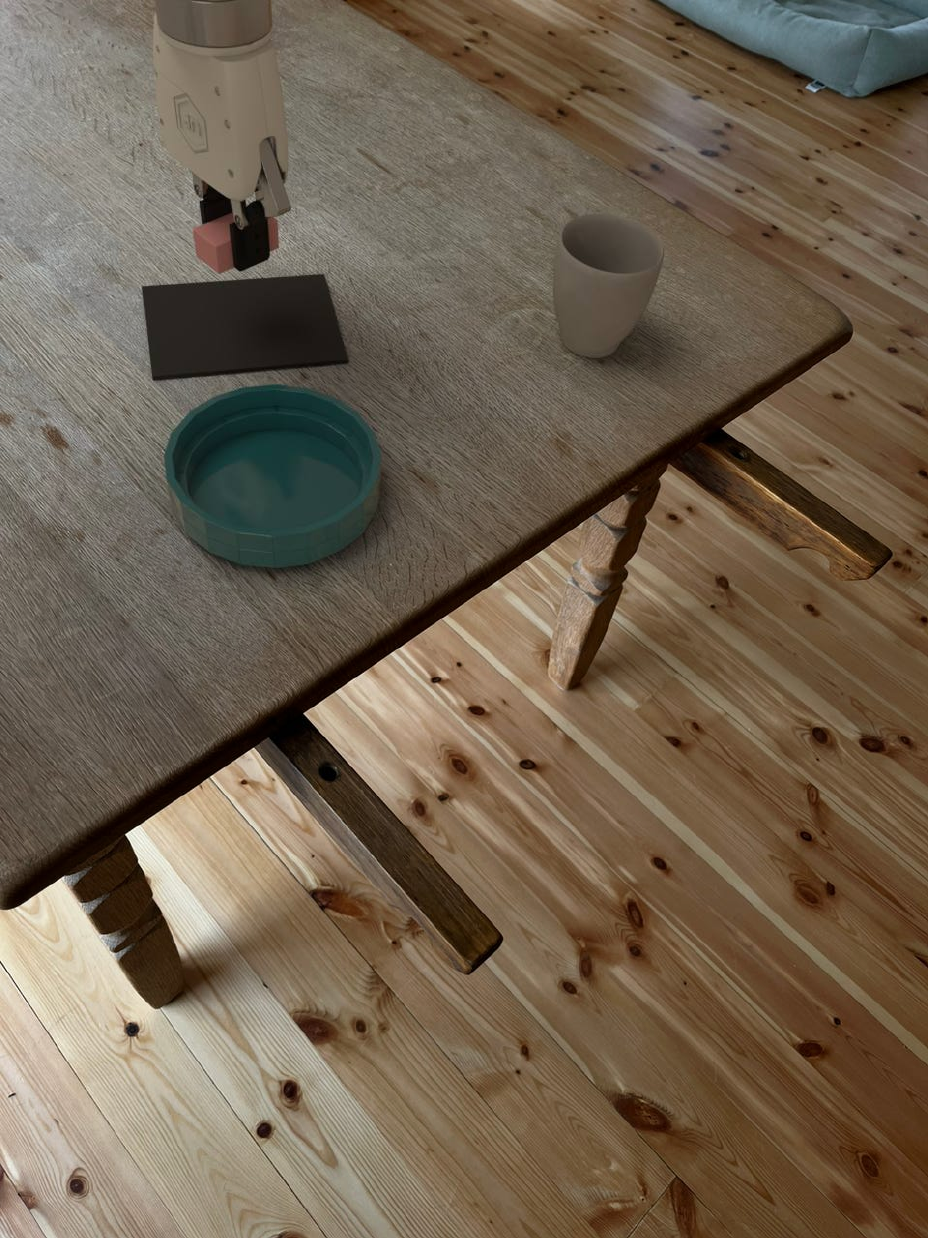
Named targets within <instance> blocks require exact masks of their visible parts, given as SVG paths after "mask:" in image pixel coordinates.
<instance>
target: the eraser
mask: <svg viewBox="0 0 928 1238" xmlns="http://www.w3.org/2000/svg"><path fill="white" fill-rule="evenodd" d="M233 222H235V221H234V217H233V213H230V214H228V215H225V216H223V217H220V218H218V219H215V220H213V221H211V222H208V223H205V224H203V225H202V224H200V225H198V226H195V227H194V228H192V234H193V241H194V249H195V256H196V258H197V259H199V260H200V261H202V262H203V263H204V264H205V265H206V266H208V267H209V268H210V269H211V270H212V271H214V272H215V273H216V274H217V275H221V274H223V273H225V272H228V271H230V270H233V269H235V268H234V265H233V256H232V246H231V237H230V227H229V224H231V223H233ZM278 223H279V222H278V220H277V219H276V217H271V218H268V232H269V246H270V253H271V252H273V251H275V250H278V249H279V248H280V240H279V239H280V238H279V224H278Z"/></svg>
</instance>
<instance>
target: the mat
mask: <svg viewBox="0 0 928 1238" xmlns="http://www.w3.org/2000/svg"><path fill="white" fill-rule="evenodd" d="M141 292H142V293H141V294H142V301H143V309H144V318H145V327H146V335H147V344H148V345H147V346H148V354H149V363H150V371H151V379H152V381H159V380H169V379H170V380H171V379H179V378H180V379H181V378H182V379H183V378H192V377H193V378H194V377H204V376H216V375H226V374H227V375H228V374H236V373H238V374H239V373H248V372H259V371H260V372H261V371H272V370H284V369H293V368H306V367H318V366H329V365H339V364H348V363H349V357H348V354H347V353H348V352H347V350H346V346H345V343H344V339H343V336H342V333H341V328H340V325H339V322H338V319H337V314H336V311H335V308H334V304H333V300H332V296H331V293H330V289H329V287H328V283H327V279H326V275H325V274H324V273H316V274H303V275H302V274H301V275H288V276H274V277H259V278H258V277H257V278H244V279H243V278H242V279H229V280H228V279H227V280H214V281H197V282H184V283H183V282H182V283H172V284H171V283H169V284H155V285H142V286H141Z"/></svg>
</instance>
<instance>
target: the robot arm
mask: <svg viewBox="0 0 928 1238" xmlns="http://www.w3.org/2000/svg"><path fill="white" fill-rule="evenodd" d="M153 6H154V10H155V13H154V14H153V15H154V16H153V30H152V59H153V61H152V62H153V63H152V64H153V72H154V73H153V76H154V77H153V78H154V87H155V100H156V107H157V117H158V124H159V132H160V137H161V142H162V145H163V147H164V149H165V150H166V151H167V152H168V154H169V155H170V156H172V158H174V159H175V160H176V161H177V162H179V163H180V164H181V165H182V166H184V167H185V169H187V170H189V171H190V172H191V174H192V187H193V191H194V193H195V196H196V197H197V198H199V199H201V200H199V202H198V203H199V210H200V218H201V219H200V220H201V223H202V224H201V225H203V224H205V223H208V222H211V221H213V220H215V219H218V218H220V217H223V216H225V215H228V214H230V213H233V217H234V221H235V222H233V223H231V224H229V227H230V237H231V246H232V256H233V265H234V268H233V269H235V270H236V271H238V272H244V271H246V270H249V269H251V268H252V267H253V268H254V267H255V266H257V265H259V264H262V263H265V262H267V261H269V259H270V257H271V252H270V246H269V232H268V218H271V217H273V218H277V217H280V216H282V215H285V214H287V213H289V212H291V211H292V204H291V202H290V199H289V195H288V193H287V190H286V186H285V184H286V182H287V181H288V175H289V142H288V129H287V118H286V109H285V102H284V94H283V88H282V81H281V75H280V74H281V73H280V70H279V69H280V68H279V64H278V63H279V62H278V59H277V55H276V49H275V44H274V43H273V41H272V40H271V39H272V38H273V34H274V33H273V32H274V31H273V13H272V11H273V9H272V0H153ZM253 196H255V200H254V201H251V202H250V203H249V204H248V205H247V200H246V199H248V198H251V197H253Z"/></svg>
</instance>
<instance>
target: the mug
mask: <svg viewBox="0 0 928 1238" xmlns="http://www.w3.org/2000/svg"><path fill="white" fill-rule="evenodd" d="M664 258H665V248H664V245H663V243H662V241H661V239H660V237H659V236H658V234H657V233H655V232H654V231H653V230H652V229H651V228H649V227H648V226H647V225H645V224H643V223H642V222H639V221H637V220H635V219H632V218H631V217H628V216H623V215H619V214H615V213H603V212H601V213H600V212H599V213H598V212H597V213H588V214H587V213H586V214H583V215H580V216H577V217H575V218H573V219H571V220H570V221H568V222H567V223H566V224H565V225H564V226H563V227H562V229H561V230H560V233H559V235H558V240H557V244H556V250H555V257H554V263H553V273H552V301H553V309H554V314H555V319H556V322H557V325H558V329H559V338H560V340H561V343H562V344H563V346H564V347H565V348H566V349H567V350H568V351H570V352H572V353H574V354H576V355H578V356H581V357H584V358H590V359H601V358H605V357H608V356H610V355H612V354H613V353H615V352H616V351H617V349H618V347H619V346H620V345H621V343H622V342H623V341H624V340H625V339H626V338H627V336H628V335H629V334H630V333H631V332H632V331H633V329H634V328H635V327H636V325H638V322H639V321H640V319H642V316H643V314H644V312H645V311H646V309H647V307H648V305H649V303H650V300H651V298H652V296H653V293H654V291H655V288H656V286H657V282H658V280H659V277H660V274H661V270H662V267H663V264H664Z"/></svg>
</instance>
